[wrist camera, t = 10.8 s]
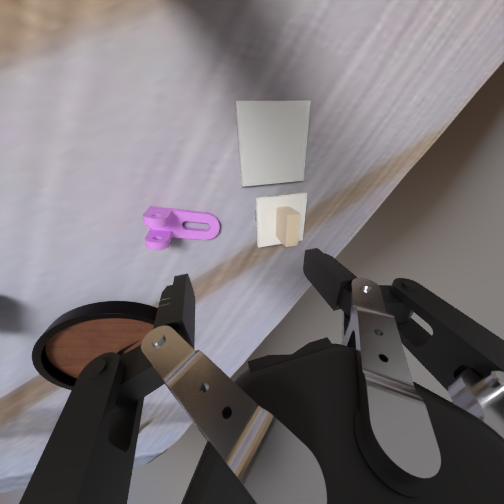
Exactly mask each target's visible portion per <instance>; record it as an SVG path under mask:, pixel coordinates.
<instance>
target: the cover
mask: <svg viewBox="0 0 504 504" xmlns="http://www.w3.org/2000/svg"><path fill="white" fill-rule="evenodd" d="M306 203H307V193H296V194H287V195H278V196H268V197H259V198H256V216H257V245H258V248H259V247H265V246H271V245H277V244H283V245H284V246H285V247H290V246H296V245H298V241H302V240H303V231H304V222H305V212H306Z"/></svg>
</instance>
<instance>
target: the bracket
mask: <svg viewBox="0 0 504 504" xmlns="http://www.w3.org/2000/svg"><path fill="white" fill-rule="evenodd" d="M143 219H144V224H145V225H147V226H150V231H149V233H148V234H147V236H146V237H145V242H146V247H147V248H149V249H152V250H162V249H165V248H167V247H169V244H170V241H171V238H188V239H203V240H208V239H212V238H214V237H215V236H216V235H217V234H218V232H219V229H220V225H219V221H218V219H217V218H216V217H215V216H214V215H213V214H211V213H208V212H199V211H190V210H181V209H172V208H163V207H155V206H150V207H149V208H148V210H147V211H146V212H145V213H144V214H143ZM185 221H190V222H200V223H208V224H209V225H210V228H209V229H196V228H186V227H184V226H183V224H182V223H183V222H185Z"/></svg>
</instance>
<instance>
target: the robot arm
mask: <svg viewBox="0 0 504 504" xmlns="http://www.w3.org/2000/svg"><path fill="white" fill-rule="evenodd" d="M303 271H304V274H305V276H306V277H307V279H308V280H309V281H310V282H311V283H312V285H313V286H314V287H315V288H316V289H317V291H318V292H319V293H320V294H321V296H322V297H323V298H324V299H325V300H326V302H327V303H328V304H329V305H330V306H331V308H332V309H333V310H338V309H342V310H343V313H342V345H340V344H332V343H331V342H330V340H329V339H328V338H324V339H320V340H317V341H314V342H310V343H308V344H307V345H305V346H304V347H302V348H301V349H299V350H298V351H296V352H295V353H293V354H290V355H268V356H264V357H261V358H258V359H254V360H251V361H248V365H249V369H247V370H246V371H244V372H243V373H242V374H241V375H240V376H239V377H238V378H237V379H236V380H235V382H233V381H232V380H231V379H230V378H229V377H228V376H227V375H226V374H225V373H224V372H223V371H222V370H221V369H220V368H219V367H217V366H216V365H215V364H214V363H213V362H212V361H211V360H210V359H209V358H208V357H207V356H206V355H205V354H204V353H203V352H201V351H200V350H197V351H196V350H194V335H195V295H194V291H193V288H192V285H191V282H190V278H189V276H188V274H183V275H178V276H175V277H174V282H173V285H170V286H167V287H166V288H165V290H164V291H163V292H162V295H161V299H160V303H159V307H158V311H157V315H156V319H155V323H154V327H153V330H151V331H150V332H149V333H148V334H147V335H146V336H145V337H144V339H143V341H142V343H141V345H139V346H137V347H136V348H134V349H132V350H130V351H128V352H126V353H124V354H122V355H121V356H119V355H118V354H117V353H114V352H108V353H104V354H102V355H100V356H98V357H96V358H95V359H93V360H92V361H91V362H89V363H88V364H87V365H86V366H85V367H84V369H83V370H82V371H81V373H80V374H79V376H78V378H77V380H76V383H75V385H74V387H73V389H72V391H71V393H70V395H69V398H68V400H67V402H66V404H65V406H64V408H63V411H62V413H61V415H60V417H59V419H58V421H57V423H56V426H55V428H54V430H53V432H52V434H51V436H50V438H49V441H48V443H47V445H46V447H45V449H44V451H43V454H42V456H41V458H40V460H39V462H38V464H37V466H36V469H35V471H34V473H33V475H32V477H31V479H30V482H29V484H28V486H27V488H26V490H25V492H24V495H23V497H22V499H21V501H20V503H19V504H127V499H128V493H129V487H130V480H131V475H132V469H133V462H134V456H135V450H136V444H137V438H138V432H139V426H140V420H141V414H142V407H143V401H144V397H145V396H146V395H148V394H150V393H151V392H153V391H154V390H156V389H157V388H159V387H160V386H162V385H163V384H165V385H166V386H167V387H168V389H169V390H170V391H171V393H172V394H173V395H174V397H175V398H176V399H177V401H178V402H179V404H180V405H181V406H182V408H183V409H184V410H185V412H186V413H187V414H188V416H189V417H190V419H191V420H192V421H193V423H194V424H195V425H196V427H197V428H198V429H199V431H200V432H201V434H202V435H203V436H204V437H205V439H206V440H207V443H206V446H205V448H204V451H203V453H202V455H201V458H200V460H199V463H198V465H197V467H196V470H195V472H194V474H193V477H192V479H191V482H190V484H189V486H188V489H187V491H186V494H185V496H184V498H183V501H182V503H181V504H504V340H502V339H501V338H499V337H498V336H496V335H495V334H493V333H492V332H490V331H489V330H488V329H486V328H485V327H483V326H482V325H480V324H478V323H477V322H475V321H474V320H473V319H471V318H469V317H468V316H467V315H465V314H464V313H462V312H461V311H459V310H458V309H456V308H454V307H453V306H452V305H450V304H448V303H447V302H446V301H444V300H443V299H441V298H440V297H438V296H436V295H435V294H434V293H432V292H431V291H429V290H428V289H426V288H425V287H423V286H422V285H420V284H419V283H417V282H415V281H413V280H410V279H405V278H397V279H395V280H394V281H393V283H392V286H386V285H384V286H383V285H378V284H377V283H375V282H374V281H372V280H369V279H366V278H357V277H356V276H355V275H354V274H353V273H351V272H350V271H349V270H348V269H347V268H345V267H344V266H342V264H340V263H339V262H338V261H337V260H336V259H334V258H333V257H332V256H330V255H327V254H324V253H322V252H321V251H320V250H319V249H318V248H314V249H309V250H306V251H305V256H304V265H303ZM414 312H415V313H416V314H417V315H418V316H420V317H421V318H422V319H423V320H424V321H426V322H427V323H428V324H429V325H430V326H431V328H432V329H433V335H432V336H431V335H430V334H429V333H428V332H427V331H426V330H425V329H423V328H422V327H421V326H420V325H419V324H418V323H416V322H415V321H414V320H413V319H412V318H411V316H412V314H413V313H414ZM402 344H403V345H404V346H405V347H406V348H407V349H408V350H409V351H410V352H411V353H412V354H413V355H414V356H415V357H416V358H417V359H418V360H419V362H420V363H422V365H423V366H424V367H425V368H426V369H427V370H428V371H429V372H430V373H431V374H432V375H433V376H434V377H435V378H436V379H437V380H438V381H439V382H440V383H441V384H442V386H444V388H446V390H447V391H448V393H449V395H450V397H451V399H452V400H453V402H452V403H451V402H450V401H448V400H446V399H444V398H442V397H440V396H439V395H437V394H435V393H433V392H431V391H430V390H428V389H426V388H424V387H422V386H420V385H419V384H417V383H415V382H413V380H412V377H411V373H410V370H409V367H408V363H407V360H406V356H405V353H404V350H403V346H402Z"/></svg>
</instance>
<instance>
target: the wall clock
mask: <svg viewBox="0 0 504 504" xmlns="http://www.w3.org/2000/svg"><path fill="white" fill-rule="evenodd" d="M157 311H158V308H156V307H153V306H150V305H146V304H142V303H136V302H128V301H107V302H98V303H93V304H88V305H84V306H81V307H78V308H76V309H73V310H71V311H69V312H67V313H65V314H63V315H62V316H60V317H59V318H58V319H56V320H55V321H54V322H53V323H52V324H51V325H50V326H49V328H48V329H47V330H46V331H45V332H44V333H43V335H42V336H41V337H40V338H39V339H38V341H37V342H36V344H35V345H34V348H33V351H32V361H33V364H34V367H35V368H36V370H37V371H38V372H39V374H40V375H41V376H43V377H44V378H45V379H46V380H48V381H50V382H51V383H53V384H55V385H57V386H60V387H62V388H66V389H69V390H72V389H73V387H74V385H75V383H76V380H77V378H78V376H79V374H80V373H81V371H82V370H83V369H84V367H85V366H86V365H87V364H88V363H89V362H91V361H92V360H93V359H95V358H96V357H98V356H100V355H102V354H104V353H108V352H114V353H117V354H118V355H119V356H121V355H122V354H124V353H126V352H128V351H130V350H132V349H134V348H136V347H137V346H139V345H141V343H142V341H143V339H144V337H145V336H146V335H147V334H148V333H149V332H150V331H151V330H153V327H154V323H155V319H156V315H157Z"/></svg>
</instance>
